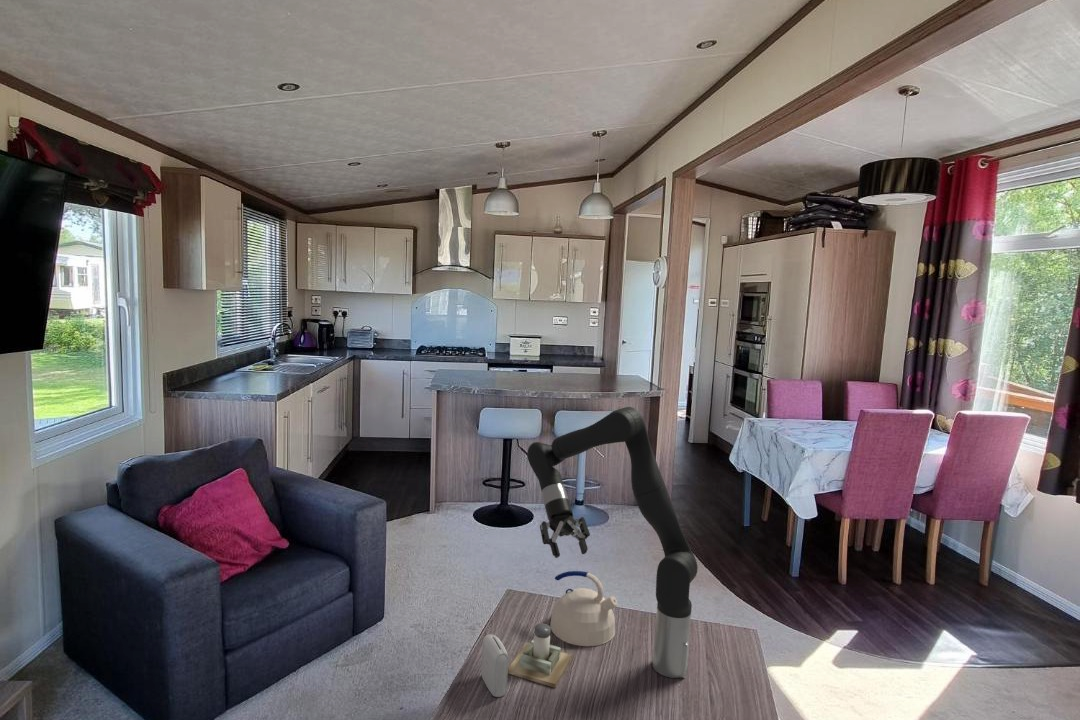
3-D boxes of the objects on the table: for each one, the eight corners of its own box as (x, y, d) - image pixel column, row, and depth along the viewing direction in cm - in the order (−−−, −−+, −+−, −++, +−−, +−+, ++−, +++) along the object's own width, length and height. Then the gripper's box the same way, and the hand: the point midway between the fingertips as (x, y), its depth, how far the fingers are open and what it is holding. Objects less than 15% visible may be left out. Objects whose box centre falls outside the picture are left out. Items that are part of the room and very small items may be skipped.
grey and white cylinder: (550, 659, 163) (553, 626, 161) (544, 668, 159) (546, 634, 157) (536, 655, 164) (538, 621, 163) (530, 663, 160) (532, 629, 159)
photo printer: (478, 675, 156) (480, 631, 155) (493, 671, 158) (496, 628, 156) (492, 699, 147) (495, 653, 145) (508, 695, 149) (511, 649, 147)
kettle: (603, 655, 168) (607, 595, 166) (538, 634, 177) (541, 577, 175) (624, 622, 186) (628, 567, 184) (565, 604, 195) (568, 552, 193)
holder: (572, 658, 165) (573, 645, 165) (555, 687, 152) (556, 673, 152) (526, 645, 170) (527, 632, 170) (506, 672, 157) (507, 658, 157)
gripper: (538, 499, 170) (553, 553, 161) (582, 494, 176) (598, 546, 167) (530, 510, 175) (544, 563, 166) (573, 505, 181) (588, 556, 172)
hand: (571, 555), depth 166 cm, fingers open, 8 cm apart
